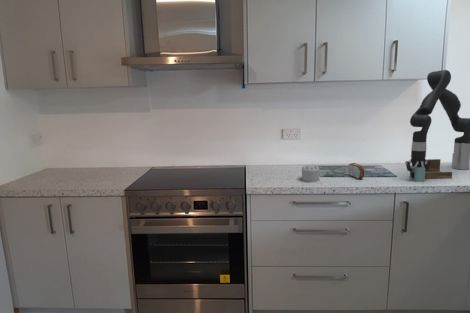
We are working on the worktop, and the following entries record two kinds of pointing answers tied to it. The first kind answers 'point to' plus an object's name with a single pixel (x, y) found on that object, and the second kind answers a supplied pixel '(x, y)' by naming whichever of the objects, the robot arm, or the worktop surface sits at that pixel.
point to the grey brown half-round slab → (356, 170)
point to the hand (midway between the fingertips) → (416, 177)
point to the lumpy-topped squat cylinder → (310, 173)
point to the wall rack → (436, 170)
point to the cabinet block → (419, 174)
